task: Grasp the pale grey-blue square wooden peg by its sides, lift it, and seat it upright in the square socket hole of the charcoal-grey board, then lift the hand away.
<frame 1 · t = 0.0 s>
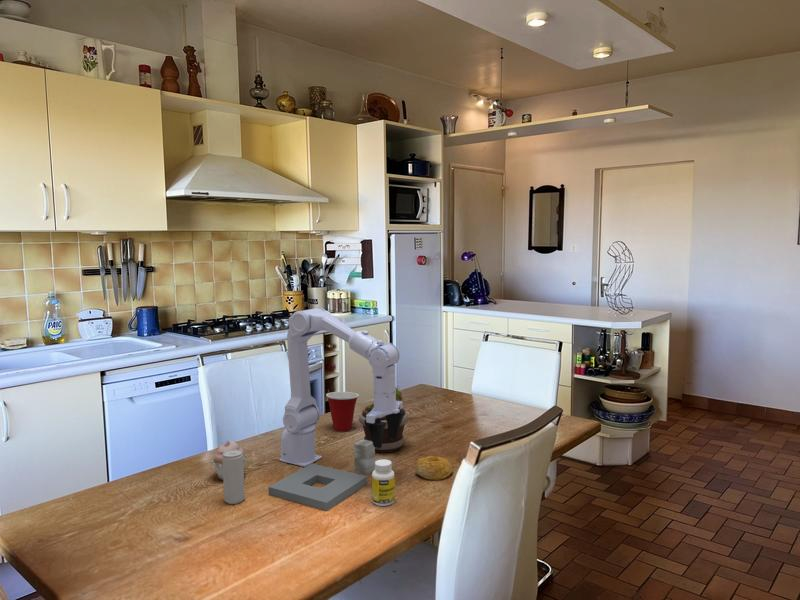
hand: (385, 442, 149), 10 cm above the table, tool pointing down, fingers open, 7 cm apart
beverage can: (234, 501, 139), on the table
socket board: (318, 489, 145), on the table
supplement bottle: (383, 502, 138), on the table
peg: (364, 471, 156), on the table
cupcake: (230, 476, 154), on the table
plastic cup: (343, 429, 191), on the table
flowerpot: (384, 447, 174), on the table
bagel: (434, 474, 154), on the table
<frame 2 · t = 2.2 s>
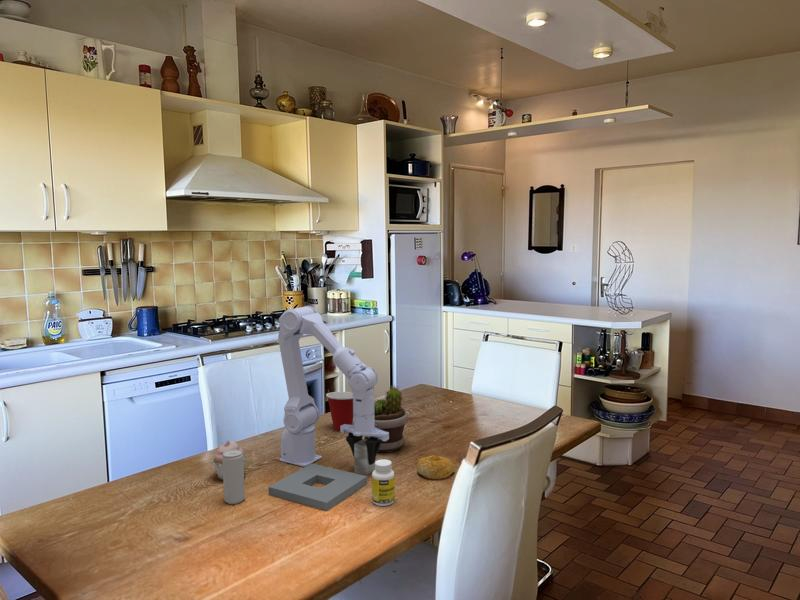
hand: (364, 461, 155), 3 cm above the table, tool pointing down, fingers closed on peg, 4 cm apart
peg: (364, 471, 156), on the table, touching gripper
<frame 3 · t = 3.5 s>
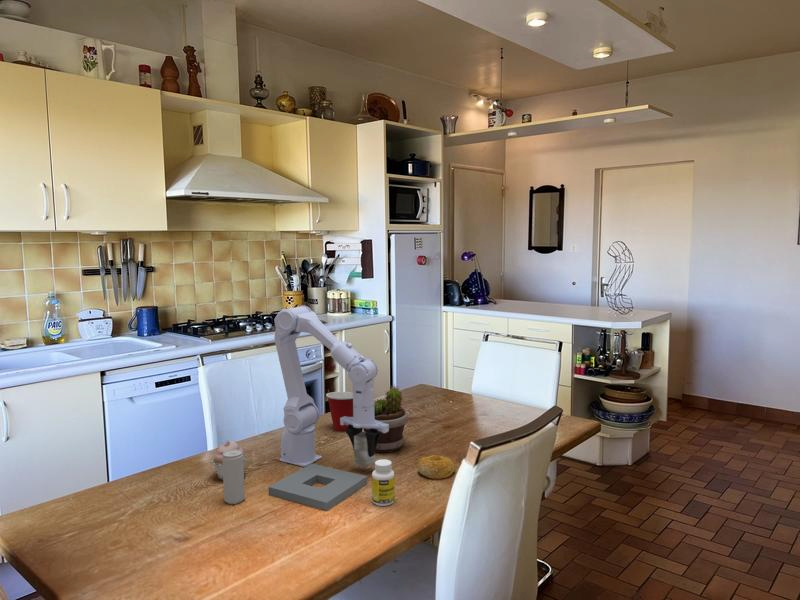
hand: (364, 454, 155), 5 cm above the table, tool pointing down, fingers closed on peg, 4 cm apart
peg: (364, 463, 156), point 2 cm above the table, touching gripper
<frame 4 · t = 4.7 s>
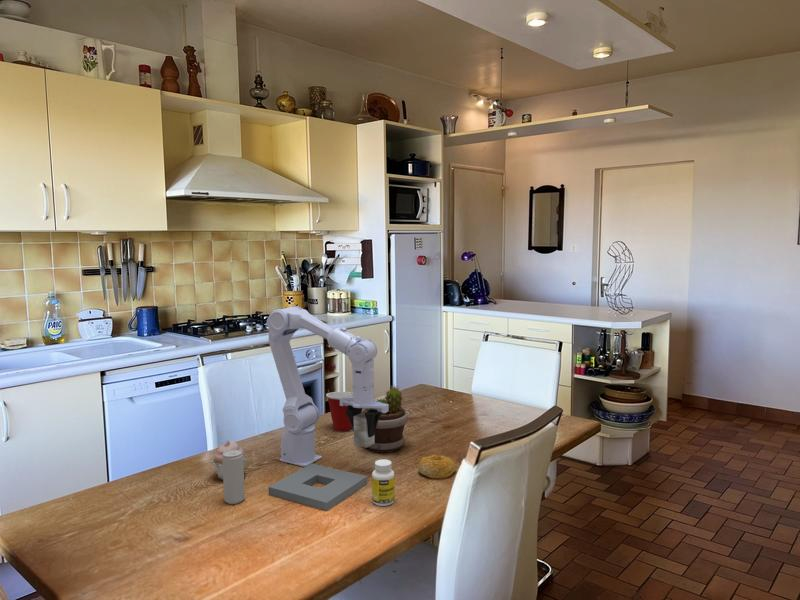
hand: (364, 434, 155), 10 cm above the table, tool pointing down, fingers closed on peg, 4 cm apart
peg: (364, 444, 155), point 8 cm above the table, touching gripper
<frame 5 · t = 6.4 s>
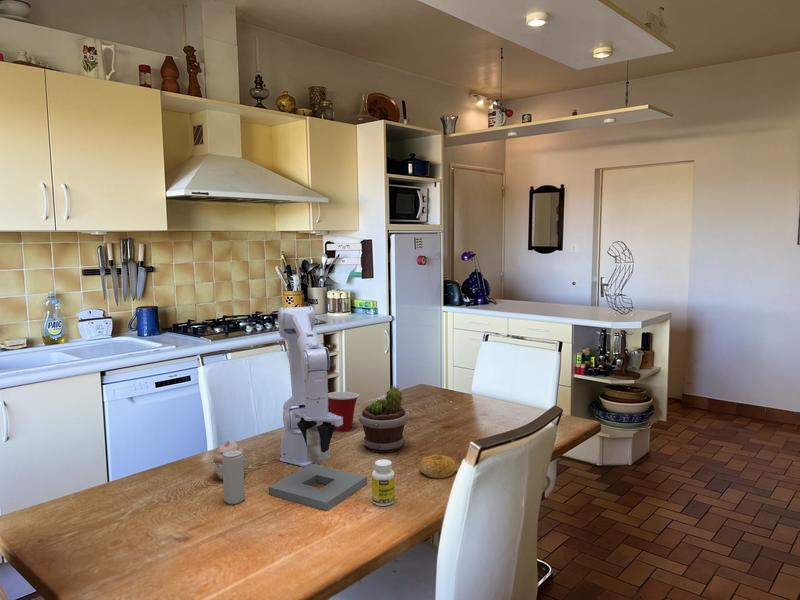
hand: (317, 449, 144), 10 cm above the table, tool pointing down, fingers closed on peg, 4 cm apart
peg: (318, 459, 144), point 8 cm above the table, touching gripper
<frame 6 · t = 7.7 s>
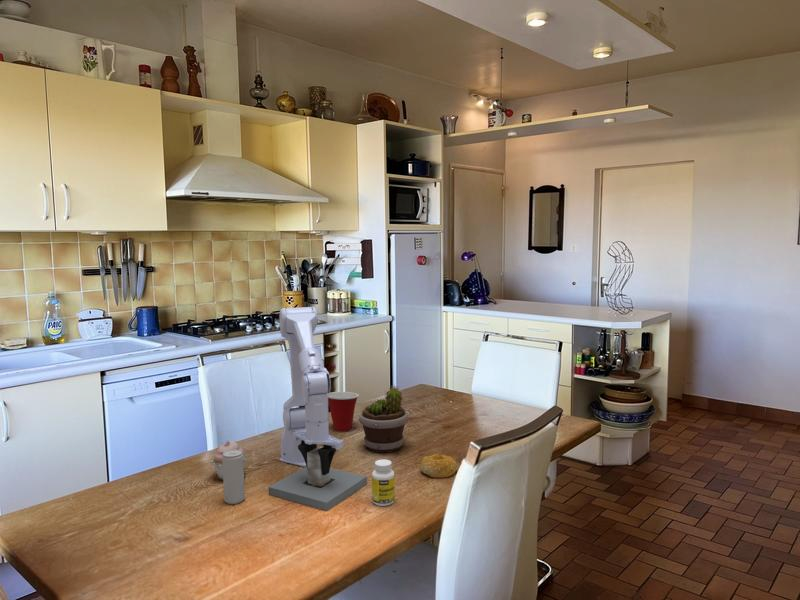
hand: (318, 472, 144), 4 cm above the table, tool pointing down, fingers closed on peg, 4 cm apart
peg: (319, 482, 145), point 2 cm above the table, touching gripper
when the fingers open (4 cm above the table, at t = 8.7 s): peg drops 1 cm, resting in socket board.
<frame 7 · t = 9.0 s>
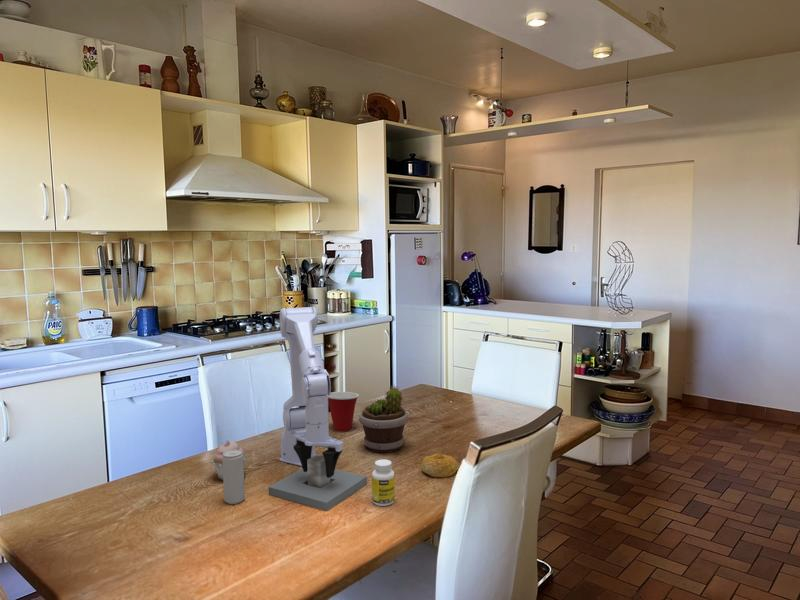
hand: (318, 473, 144), 4 cm above the table, tool pointing down, fingers open, 7 cm apart
peg: (319, 488, 145), resting in socket board
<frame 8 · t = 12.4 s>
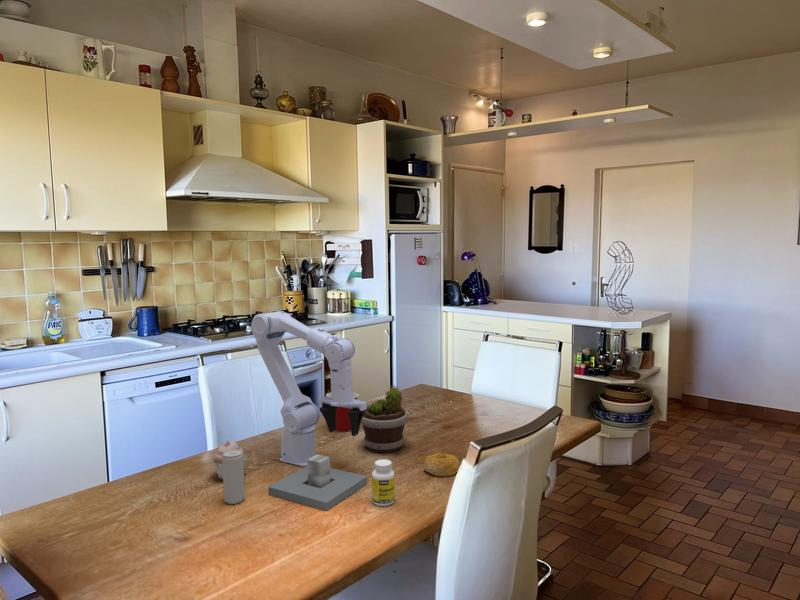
hand: (343, 433, 156), 10 cm above the table, tool pointing down, fingers open, 7 cm apart
at the end: peg 0.2 cm off-centre on the socket board, point 0.0 cm above the socket board's base; peg tilted 0°; the gripper is holding nothing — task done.
